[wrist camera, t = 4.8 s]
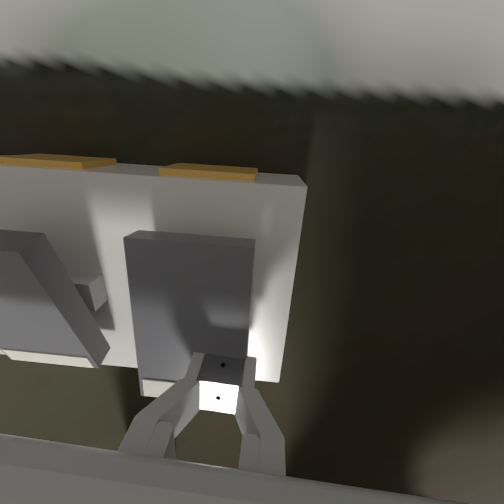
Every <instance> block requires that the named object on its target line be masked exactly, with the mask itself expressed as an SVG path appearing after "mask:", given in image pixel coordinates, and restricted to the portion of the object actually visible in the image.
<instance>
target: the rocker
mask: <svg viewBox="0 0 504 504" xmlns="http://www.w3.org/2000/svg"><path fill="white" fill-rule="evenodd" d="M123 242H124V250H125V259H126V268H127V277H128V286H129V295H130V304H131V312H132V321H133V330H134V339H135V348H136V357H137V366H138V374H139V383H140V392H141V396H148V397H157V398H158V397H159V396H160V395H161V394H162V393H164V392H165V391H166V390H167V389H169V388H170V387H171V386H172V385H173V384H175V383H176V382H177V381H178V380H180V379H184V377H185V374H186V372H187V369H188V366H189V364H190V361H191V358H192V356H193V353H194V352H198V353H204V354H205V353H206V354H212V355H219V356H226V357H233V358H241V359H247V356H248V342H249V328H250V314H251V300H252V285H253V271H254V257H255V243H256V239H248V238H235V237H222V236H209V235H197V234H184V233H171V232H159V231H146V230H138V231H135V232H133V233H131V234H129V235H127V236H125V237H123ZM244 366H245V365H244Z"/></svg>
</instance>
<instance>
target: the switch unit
mask: <svg viewBox="0 0 504 504" xmlns="http://www.w3.org/2000/svg"><path fill="white" fill-rule="evenodd" d="M306 193H307V186H306V185H305V183H304V182H303V181H302V179H301V178H300V177H299V176H298V175H288V174H273V173H258V168H250V167H235V166H220V165H205V164H190V163H176V164H172V165H168V166H155V165H140V164H125V163H117V161H116V159H115V158H100V157H85V156H70V155H55V154H24V155H0V229H1V230H14V231H26V232H39V233H45V235H46V237H47V239H48V240H49V242H50V244H51V246H52V247H53V249H54V251H55V252H56V254H57V256H58V258H59V259H60V261H61V263H62V265H63V266H64V268H65V270H66V271H67V273H68V275H69V277H70V278H71V280H72V282H73V284H74V285H75V287H76V289H77V290H78V292H79V294H80V296H81V297H82V299H83V301H84V303H85V304H86V306H87V308H88V309H89V311H90V313H91V315H92V316H93V318H94V320H95V322H96V323H97V325H98V327H99V328H100V330H101V332H102V334H103V335H104V337H105V339H106V341H107V342H108V344H109V346H110V347H111V348H110V350H109V351H108V353H107V355H106V357H105V358H104V360H103V362H102V364H103V365H113V366H123V367H132V368H138V366H137V357H136V348H135V339H134V330H133V321H132V312H131V304H130V295H129V286H128V277H127V268H126V259H125V250H124V242H123V237H125V236H127V235H129V234H131V233H133V232H135V231H138V230H146V231H159V232H171V233H184V234H197V235H209V236H222V237H235V238H248V239H256V243H255V257H254V271H253V285H252V300H251V314H250V328H249V342H248V356H251V357H256V358H257V361H256V374H255V380H259V381H269V382H279V378H280V372H281V365H282V358H283V351H284V344H285V337H286V330H287V324H288V317H289V310H290V303H291V296H292V289H293V282H294V276H295V269H296V262H297V255H298V248H299V241H300V234H301V228H302V221H303V214H304V207H305V200H306ZM0 354H5V353H4V352H3V351H2V350H0Z"/></svg>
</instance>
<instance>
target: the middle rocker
mask: <svg viewBox="0 0 504 504" xmlns="http://www.w3.org/2000/svg"><path fill="white" fill-rule="evenodd" d="M110 348H111V347H110V346H109V344H108V342H107V341H106V339H105V337H104V335H103V334H102V332H101V330H100V328H99V327H98V325H97V323H96V322H95V320H94V318H93V316H92V315H91V313H90V311H89V309H88V308H87V306H86V304H85V303H84V301H83V299H82V297H81V296H80V294H79V292H78V290H77V289H76V287H75V285H74V284H73V282H72V280H71V278H70V277H69V275H68V273H67V271H66V270H65V268H64V266H63V265H62V263H61V261H60V259H59V258H58V256H57V254H56V252H55V251H54V249H53V247H52V246H51V244H50V242H49V240H48V239H47V237H46V235H45V233H39V232H26V231H14V230H1V229H0V350H2V351H3V352H4V353H5V354H6V355H7V356H8V357H9V358H10V359H12V360H21V361H31V362H41V363H50V364H60V365H70V366H79V367H89V368H99V367H100V365H101V364H102V362H103V360H104V358H105V357H106V355H107V353H108V351H109V350H110Z"/></svg>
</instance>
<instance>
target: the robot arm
mask: <svg viewBox="0 0 504 504" xmlns="http://www.w3.org/2000/svg"><path fill="white" fill-rule="evenodd" d="M256 361H257V358H256V357H251V356H247V359H241V358H233V357H226V356H219V355H212V354H206V353H205V354H204V353H198V352H194V353H193V356H192V358H191V361H190V364H189V366H188V369H187V372H186V374H185V377H184V379H180V380H178V381H177V382H176V383H175V384H173V385H172V386H171V387H170V388H169V389H167V390H166V391H165V392H164V393H162V394H161V395H160V396H159V397H158V398H156V399H155V400H154V401H153V402H151V403H150V404H149V405H148V406H147V407H145V408H144V409H143V410H142V411H140V412H139V413H138V414H137V415H136V416H135V417H134V419H133V421H132V423H131V425H130V427H129V429H128V431H127V433H126V435H125V437H124V439H123V441H122V443H121V445H120V447H119V449H118V451H114V450H107V449H100V448H94V447H87V446H80V445H74V444H67V443H60V442H53V441H47V440H40V439H33V438H27V437H20V436H14V435H7V434H0V504H468V503H462V502H455V501H448V500H441V499H435V498H428V497H421V496H415V495H408V494H401V493H395V492H388V491H381V490H375V489H368V488H361V487H354V486H348V485H341V484H334V483H328V482H321V481H314V480H308V479H301V478H294V477H287V476H286V468H285V440H284V437H283V435H282V433H281V431H280V429H279V427H278V426H277V424H276V422H275V420H274V418H273V417H272V415H271V413H270V411H269V409H268V407H267V406H266V404H265V402H264V400H263V398H262V397H261V395H260V393H259V391H258V389H254V388H255V374H256ZM244 365H245V366H244ZM199 409H202V410H211V411H219V412H224V413H230V414H235V417H236V420H237V422H238V425H239V428H240V431H241V433H242V442H241V449H240V456H239V463H238V469H234V468H228V467H221V466H214V465H208V464H201V463H194V462H187V461H181V460H176V457H175V438H176V437H177V435H178V434H179V433H180V432H181V431H182V430H183V429H184V427H185V426H186V425H187V424H188V423H189V422H190V420H191V419H192V418H193V417H194V416H195V415H196V414H197V412H198V411H199Z"/></svg>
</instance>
